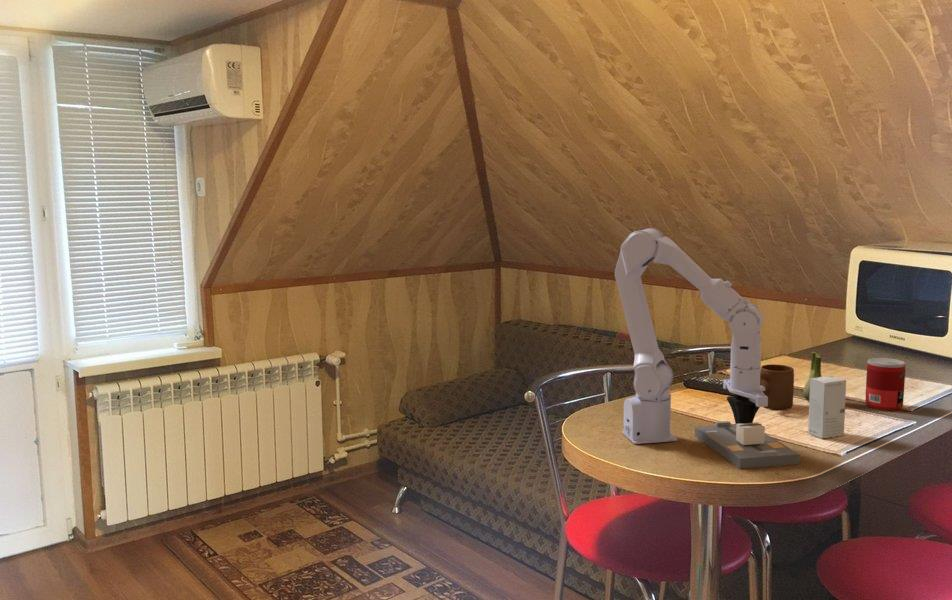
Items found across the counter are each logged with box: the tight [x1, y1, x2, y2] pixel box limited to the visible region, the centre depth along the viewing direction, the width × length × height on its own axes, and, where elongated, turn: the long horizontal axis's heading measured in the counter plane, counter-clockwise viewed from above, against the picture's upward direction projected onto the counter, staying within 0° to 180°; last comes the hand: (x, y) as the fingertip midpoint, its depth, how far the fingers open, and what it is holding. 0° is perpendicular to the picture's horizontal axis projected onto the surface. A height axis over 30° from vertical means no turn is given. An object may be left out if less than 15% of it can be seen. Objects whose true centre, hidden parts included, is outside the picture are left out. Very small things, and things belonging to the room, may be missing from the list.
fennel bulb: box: [802, 351, 822, 402], centre depth 191 cm, size 6×5×12 cm
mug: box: [760, 363, 795, 411], centre depth 186 cm, size 12×8×9 cm, turn 124°
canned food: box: [864, 357, 907, 412], centre depth 185 cm, size 8×8×11 cm
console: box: [694, 420, 800, 470], centre depth 159 cm, size 12×20×3 cm, turn 9°
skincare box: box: [807, 375, 847, 439], centre depth 166 cm, size 6×4×12 cm
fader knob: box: [736, 421, 766, 445], centre depth 156 cm, size 4×3×4 cm
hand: (743, 432), depth 159 cm, fingers closed
